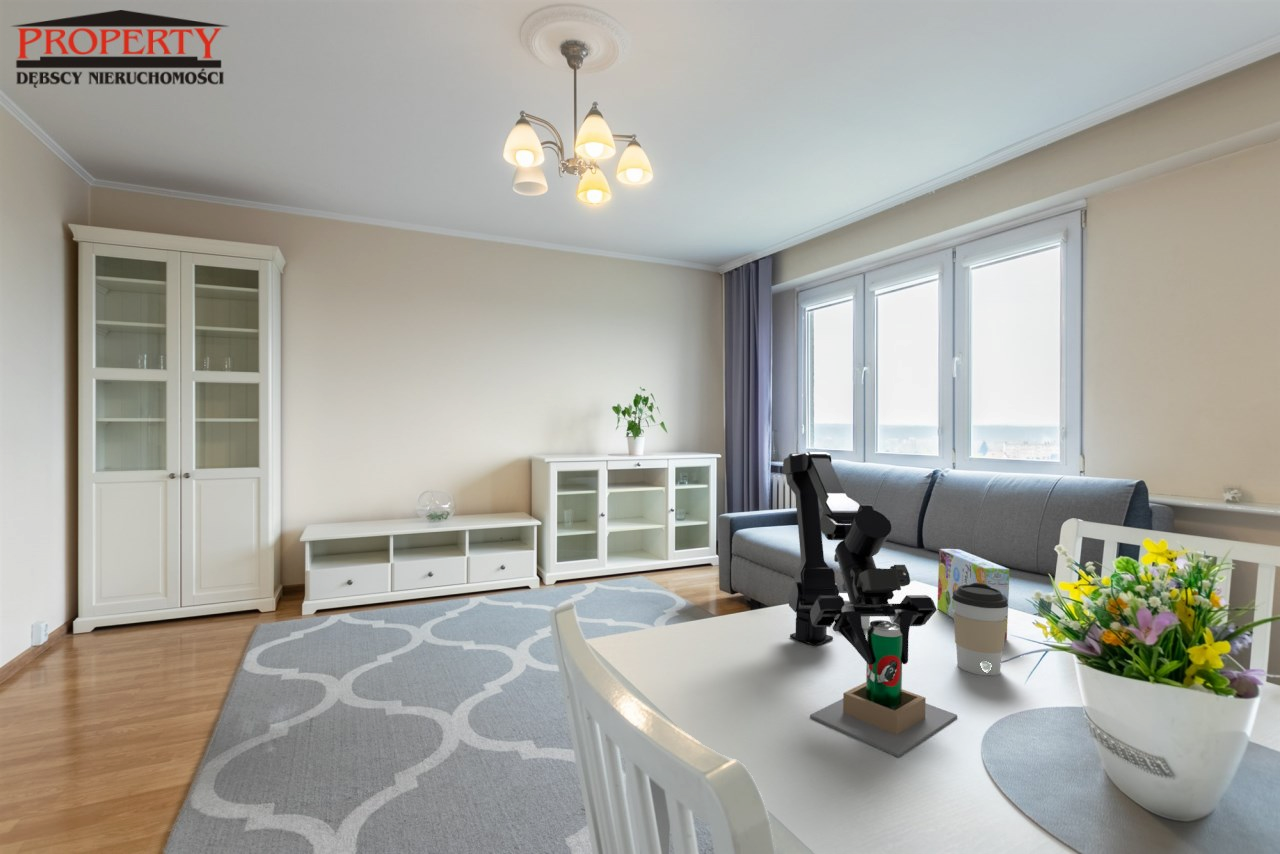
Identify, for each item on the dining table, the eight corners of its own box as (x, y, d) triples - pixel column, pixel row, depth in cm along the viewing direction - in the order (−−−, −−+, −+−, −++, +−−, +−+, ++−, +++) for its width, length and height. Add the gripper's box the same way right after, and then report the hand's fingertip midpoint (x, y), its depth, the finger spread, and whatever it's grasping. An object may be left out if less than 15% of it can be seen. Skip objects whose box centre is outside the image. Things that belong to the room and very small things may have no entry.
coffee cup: (1006, 682, 106) (1007, 597, 106) (948, 670, 110) (950, 589, 110) (1007, 665, 113) (1008, 585, 113) (953, 654, 118) (954, 578, 118)
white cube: (838, 618, 140) (838, 592, 140) (865, 621, 138) (866, 594, 138) (840, 627, 134) (841, 600, 134) (869, 629, 132) (869, 602, 132)
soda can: (908, 704, 92) (909, 626, 92) (889, 713, 89) (891, 633, 89) (877, 691, 96) (879, 617, 96) (859, 700, 93) (860, 623, 93)
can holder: (872, 685, 104) (872, 666, 103) (957, 717, 93) (957, 695, 93) (810, 717, 92) (810, 695, 92) (898, 757, 81) (898, 732, 81)
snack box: (1010, 640, 127) (1011, 568, 127) (983, 639, 127) (984, 568, 127) (958, 608, 148) (959, 547, 148) (935, 608, 148) (936, 547, 148)
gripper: (817, 545, 96) (843, 640, 85) (931, 545, 97) (971, 639, 86) (800, 581, 104) (822, 672, 93) (906, 581, 105) (939, 670, 94)
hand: (888, 663), depth 91 cm, fingers closed on soda can, 5 cm apart
